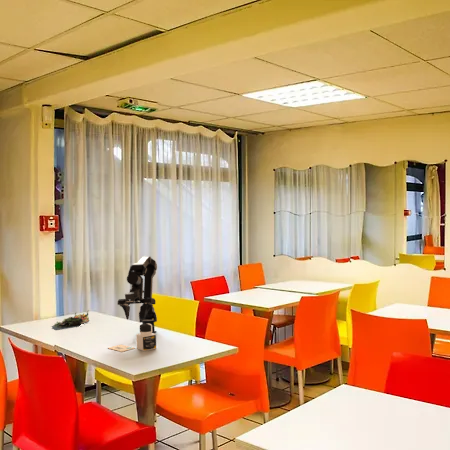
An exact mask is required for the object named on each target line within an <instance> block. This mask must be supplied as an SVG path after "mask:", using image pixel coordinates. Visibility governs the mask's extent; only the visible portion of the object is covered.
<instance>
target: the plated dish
mask: <svg viewBox="0 0 450 450" xmlns="http://www.w3.org/2000/svg"><path fill="white" fill-rule="evenodd" d="M89 321H90V319H89V310H87V312H86V314H85V313H82V314H77V312H75V313H74V316H69V317H67V318H64V319H63V320H62V321H61V322H60V321H56V323H54V324H52V325H51V326H50V327H51V329H52V330H54V331H61V330H62V331H63V330H66V329H72V328H73V329H74V328H79V326H80V325H81V324H84V323H86V324H88V323H89ZM80 327H81V326H80Z"/></svg>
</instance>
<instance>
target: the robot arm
mask: <svg viewBox="0 0 450 450" xmlns="http://www.w3.org/2000/svg"><path fill="white" fill-rule="evenodd" d="M157 270H158V265H157V262H156V260H155V259H153V258H152V256H151V255H142V256H141V257H140V259H139V260H138V261H137V262H135V263H133V262H132V264H131V265H130V267H129V270H128V273H127V277H126V281H127V284H129V285H131V286H130V287H131V289H129V292H127V293H125V294H124V298H119V299H118V300H117V306H119V307H121V308H122V309H123V311H124V315H125V318H126V320H129V318H130V311H131V305H135V304H141V305H140V307H139V312H138V317H139V323H141V324H145V323H149V324H152V333H154V334H156V333H157V330H155V323H156V322H158V318H157V317H158V316H157V313H156V311H155V307H154V305H156V299H155V298H154V297H153V283H154V282H153V279H154V277H155V275H156V273H157V272H156V271H157ZM142 276H143V277H144V278H143V277H142Z"/></svg>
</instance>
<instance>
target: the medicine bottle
mask: <svg viewBox="0 0 450 450" xmlns="http://www.w3.org/2000/svg"><path fill="white" fill-rule="evenodd" d="M135 336H136V349H138V350H140V351H143V352H145V351H146V352H147V351H150V350H151V351H152V350H155V349H157V334H156V333H152V324H149V323H145V324H142V323H141V324H139V333H136V335H135Z"/></svg>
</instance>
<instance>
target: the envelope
mask: <svg viewBox="0 0 450 450" xmlns="http://www.w3.org/2000/svg"><path fill="white" fill-rule="evenodd" d="M107 348H108V349H109V350H113V351H115V352H120V353H123V352H127V351H130V350H134V349H136V348H135V347H132V346H129V345H124V344H118V345H114V346H110V347H107Z"/></svg>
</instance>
